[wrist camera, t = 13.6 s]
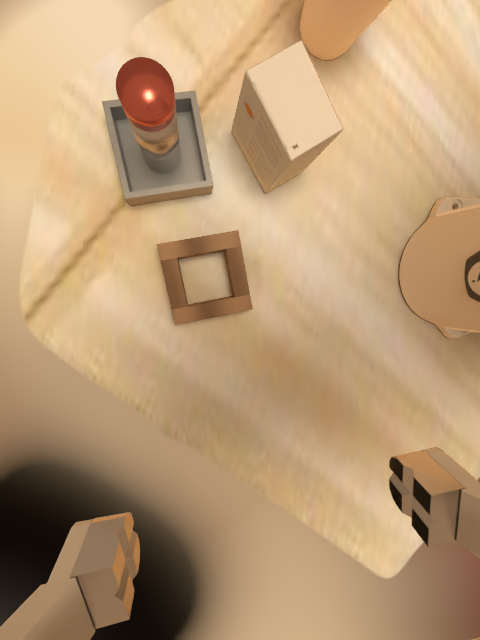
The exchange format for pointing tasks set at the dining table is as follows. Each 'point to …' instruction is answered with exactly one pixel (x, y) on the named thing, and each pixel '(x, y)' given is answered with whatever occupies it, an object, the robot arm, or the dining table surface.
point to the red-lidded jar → (151, 112)
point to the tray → (136, 173)
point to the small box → (283, 116)
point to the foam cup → (336, 24)
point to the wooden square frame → (201, 246)
